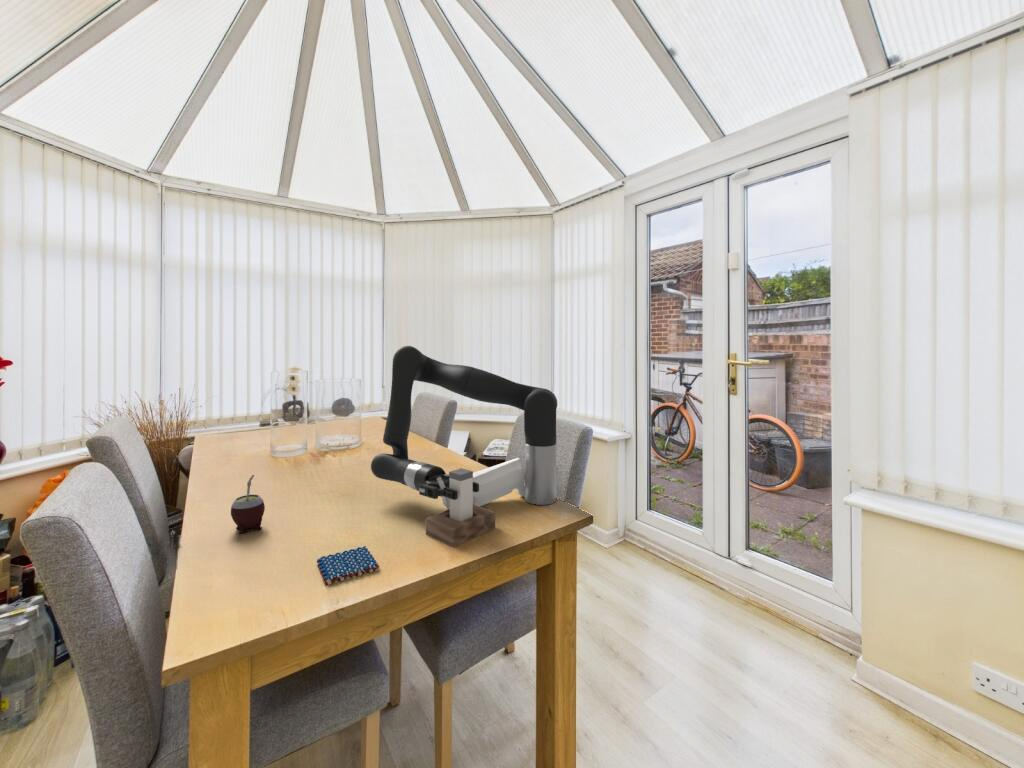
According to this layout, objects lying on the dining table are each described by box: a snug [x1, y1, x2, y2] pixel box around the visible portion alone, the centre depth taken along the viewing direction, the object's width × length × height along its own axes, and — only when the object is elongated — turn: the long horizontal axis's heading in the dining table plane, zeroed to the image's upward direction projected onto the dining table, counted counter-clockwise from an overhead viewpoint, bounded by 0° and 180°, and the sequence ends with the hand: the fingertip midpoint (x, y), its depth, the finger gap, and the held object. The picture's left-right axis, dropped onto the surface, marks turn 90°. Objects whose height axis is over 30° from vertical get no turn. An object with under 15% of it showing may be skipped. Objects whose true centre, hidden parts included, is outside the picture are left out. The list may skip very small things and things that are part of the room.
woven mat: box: [316, 545, 380, 586], centre depth 86 cm, size 10×11×2 cm
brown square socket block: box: [425, 504, 496, 548], centre depth 103 cm, size 14×10×4 cm
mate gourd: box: [230, 474, 266, 535], centre depth 103 cm, size 8×8×15 cm
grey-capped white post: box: [448, 468, 474, 522], centre depth 103 cm, size 4×4×14 cm
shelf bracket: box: [441, 457, 525, 510], centre depth 121 cm, size 6×25×13 cm, turn 119°
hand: (467, 491), depth 101 cm, fingers open, 6 cm apart
